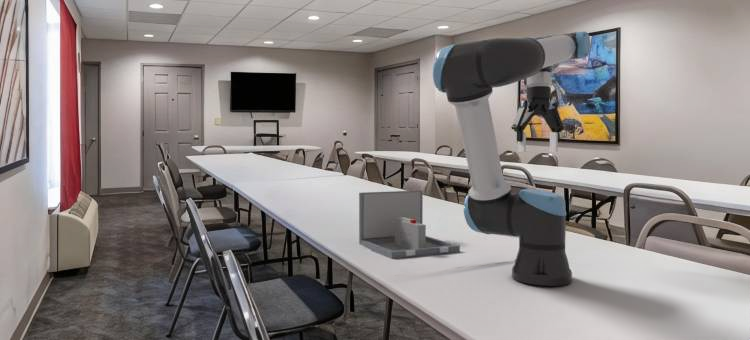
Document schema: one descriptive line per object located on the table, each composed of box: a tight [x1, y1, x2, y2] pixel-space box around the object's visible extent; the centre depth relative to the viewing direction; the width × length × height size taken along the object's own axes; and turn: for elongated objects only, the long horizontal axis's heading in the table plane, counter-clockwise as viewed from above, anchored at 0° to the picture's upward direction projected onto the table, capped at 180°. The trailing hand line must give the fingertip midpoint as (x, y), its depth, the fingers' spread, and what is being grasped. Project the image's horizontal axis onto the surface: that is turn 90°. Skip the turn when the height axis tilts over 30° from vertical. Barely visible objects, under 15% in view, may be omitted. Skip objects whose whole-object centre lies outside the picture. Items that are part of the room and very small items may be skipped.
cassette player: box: [394, 217, 427, 250], centre depth 166 cm, size 16×3×10 cm, turn 26°
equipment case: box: [358, 189, 461, 260], centre depth 167 cm, size 24×24×18 cm
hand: (537, 152), depth 166 cm, fingers open, 13 cm apart
